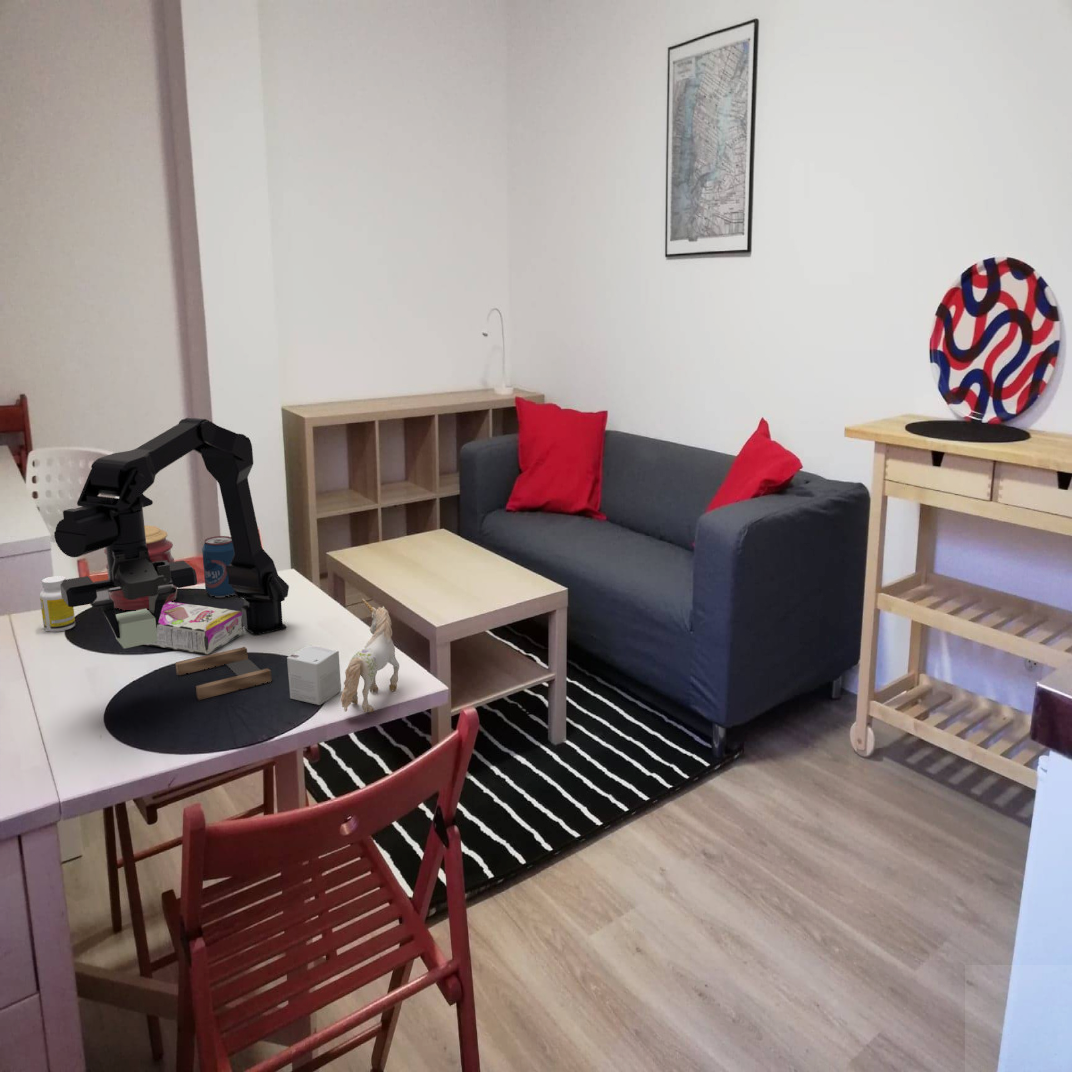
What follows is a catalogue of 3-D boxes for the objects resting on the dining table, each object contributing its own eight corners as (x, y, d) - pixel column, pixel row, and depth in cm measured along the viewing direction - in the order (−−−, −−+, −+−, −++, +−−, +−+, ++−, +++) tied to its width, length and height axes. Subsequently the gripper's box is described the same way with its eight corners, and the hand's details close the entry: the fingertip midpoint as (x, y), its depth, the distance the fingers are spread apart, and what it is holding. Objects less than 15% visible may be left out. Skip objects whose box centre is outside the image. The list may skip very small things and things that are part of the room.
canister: (95, 606, 182) (85, 523, 177) (144, 587, 194) (135, 509, 189) (145, 616, 178) (135, 531, 173) (191, 596, 189) (184, 516, 184)
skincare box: (342, 691, 147) (340, 650, 145) (319, 706, 142) (316, 663, 140) (312, 684, 150) (309, 643, 148) (288, 698, 144) (285, 656, 142)
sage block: (148, 631, 144) (146, 608, 143) (157, 641, 141) (155, 617, 140) (115, 638, 141) (112, 614, 140) (124, 648, 138) (121, 624, 137)
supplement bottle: (82, 624, 173) (76, 576, 170) (59, 634, 168) (52, 585, 165) (60, 620, 175) (54, 573, 172) (37, 630, 170) (30, 581, 167)
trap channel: (245, 657, 160) (244, 646, 159) (271, 681, 150) (270, 670, 150) (176, 673, 153) (175, 662, 152) (199, 699, 143) (198, 688, 143)
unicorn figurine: (405, 671, 155) (404, 599, 152) (386, 724, 137) (384, 643, 133) (364, 670, 155) (362, 598, 152) (340, 723, 137) (336, 642, 133)
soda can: (199, 597, 189) (194, 543, 185) (216, 586, 195) (211, 534, 192) (230, 599, 188) (225, 545, 184) (245, 589, 194) (241, 536, 191)
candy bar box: (169, 599, 173) (243, 609, 169) (171, 623, 174) (244, 634, 170) (128, 618, 163) (206, 630, 158) (131, 643, 164) (208, 656, 160)
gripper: (69, 562, 125) (82, 665, 129) (204, 542, 136) (212, 637, 140) (53, 544, 133) (67, 640, 138) (182, 526, 144) (190, 616, 148)
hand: (136, 633), depth 141 cm, fingers closed on sage block, 5 cm apart
